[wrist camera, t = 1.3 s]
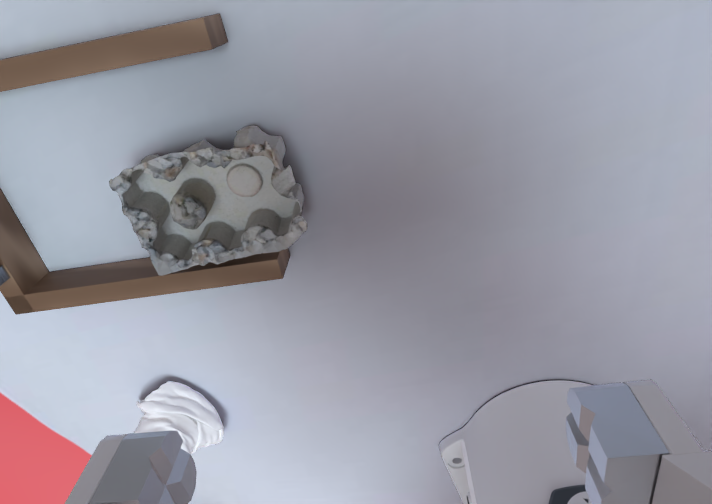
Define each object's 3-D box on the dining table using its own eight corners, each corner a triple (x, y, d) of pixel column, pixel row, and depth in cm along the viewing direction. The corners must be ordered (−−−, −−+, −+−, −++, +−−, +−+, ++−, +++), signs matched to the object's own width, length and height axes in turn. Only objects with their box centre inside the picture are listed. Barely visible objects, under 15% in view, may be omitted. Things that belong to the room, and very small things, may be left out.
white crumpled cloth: (243, 407, 43) (229, 454, 39) (207, 445, 46) (189, 493, 42) (163, 364, 41) (138, 409, 37) (130, 406, 44) (103, 452, 40)
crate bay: (290, 255, 35) (283, 278, 33) (40, 290, 38) (15, 314, 35) (219, 13, 27) (203, 18, 25) (-89, 78, 30) (-133, 88, 27)
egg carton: (281, 114, 29) (271, 137, 26) (315, 219, 33) (311, 252, 30) (119, 153, 31) (90, 180, 27) (171, 250, 35) (151, 285, 31)
